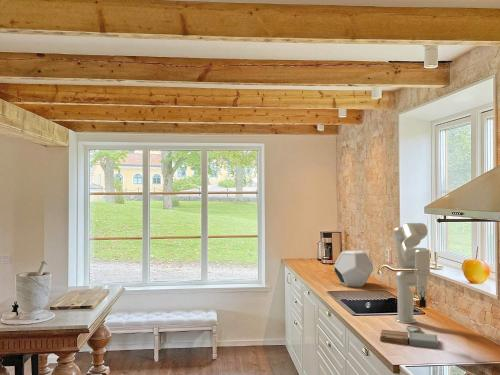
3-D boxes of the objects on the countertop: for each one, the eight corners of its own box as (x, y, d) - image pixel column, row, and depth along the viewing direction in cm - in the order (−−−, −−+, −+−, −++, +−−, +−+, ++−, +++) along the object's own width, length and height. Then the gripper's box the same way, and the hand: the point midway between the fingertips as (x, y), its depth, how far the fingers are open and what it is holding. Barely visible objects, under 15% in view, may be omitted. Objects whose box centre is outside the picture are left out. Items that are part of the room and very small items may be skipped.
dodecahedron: (380, 287, 389) (380, 252, 390) (341, 289, 383) (341, 254, 383) (363, 280, 422) (363, 248, 423) (327, 282, 416) (327, 249, 416)
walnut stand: (381, 335, 258) (381, 329, 258) (407, 337, 254) (407, 332, 254) (380, 342, 245) (380, 336, 245) (407, 345, 240) (407, 339, 240)
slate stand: (409, 337, 253) (409, 331, 253) (436, 340, 248) (436, 334, 248) (409, 345, 240) (409, 339, 240) (438, 348, 235) (438, 342, 235)
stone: (403, 329, 267) (403, 324, 267) (418, 330, 267) (418, 324, 267) (411, 335, 255) (411, 329, 255) (427, 336, 255) (427, 330, 255)
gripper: (415, 270, 254) (415, 303, 253) (414, 274, 239) (415, 309, 239) (429, 270, 251) (429, 304, 251) (430, 275, 237) (430, 310, 236)
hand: (422, 306), depth 245 cm, fingers closed
